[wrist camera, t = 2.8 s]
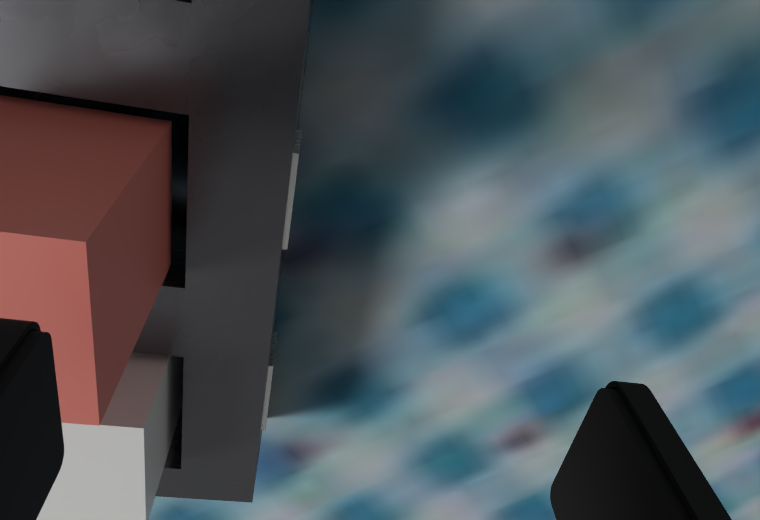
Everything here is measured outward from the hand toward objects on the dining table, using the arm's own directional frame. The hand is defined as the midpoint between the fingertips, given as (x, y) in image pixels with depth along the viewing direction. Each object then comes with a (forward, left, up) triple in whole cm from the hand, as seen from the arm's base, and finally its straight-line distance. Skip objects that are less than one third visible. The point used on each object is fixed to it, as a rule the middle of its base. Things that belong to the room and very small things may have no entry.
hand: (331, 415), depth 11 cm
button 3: (+7, -6, -10) cm, 14 cm away
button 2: (0, -6, -7) cm, 10 cm away
